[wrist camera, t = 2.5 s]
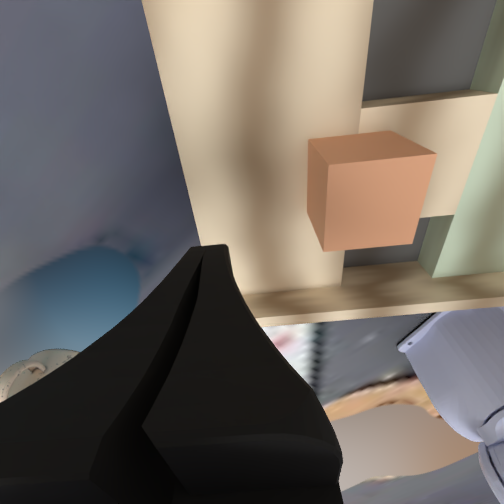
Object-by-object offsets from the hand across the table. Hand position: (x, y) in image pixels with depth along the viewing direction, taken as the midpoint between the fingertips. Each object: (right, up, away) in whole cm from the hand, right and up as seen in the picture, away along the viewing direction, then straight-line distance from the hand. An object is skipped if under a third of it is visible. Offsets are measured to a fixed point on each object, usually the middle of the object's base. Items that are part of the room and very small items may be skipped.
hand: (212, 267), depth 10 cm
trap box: (+10, +7, +8) cm, 15 cm away
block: (+7, +5, +6) cm, 11 cm away
